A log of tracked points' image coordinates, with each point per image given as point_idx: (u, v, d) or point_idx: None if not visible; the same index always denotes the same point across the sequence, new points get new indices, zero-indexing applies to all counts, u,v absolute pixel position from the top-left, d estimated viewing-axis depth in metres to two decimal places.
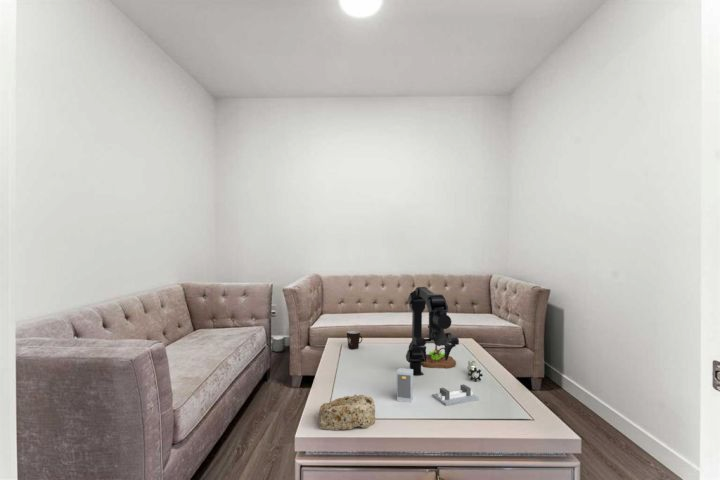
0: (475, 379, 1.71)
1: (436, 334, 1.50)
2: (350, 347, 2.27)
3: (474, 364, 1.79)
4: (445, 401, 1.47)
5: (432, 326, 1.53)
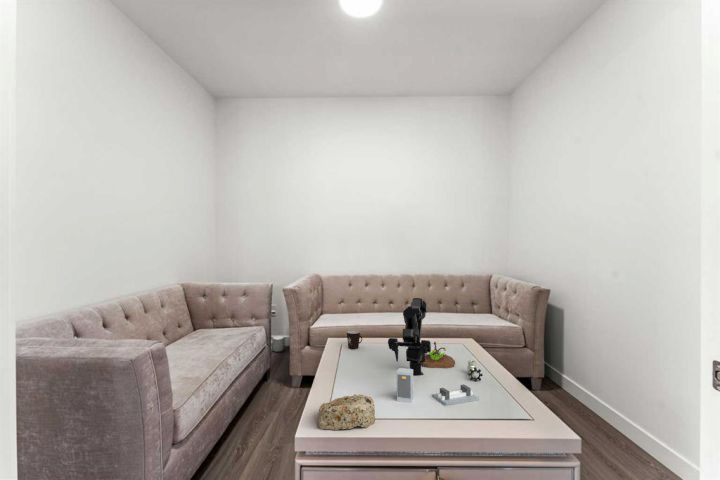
0: (475, 379, 1.71)
1: None
2: (350, 347, 2.27)
3: (474, 364, 1.80)
4: (445, 401, 1.47)
5: None
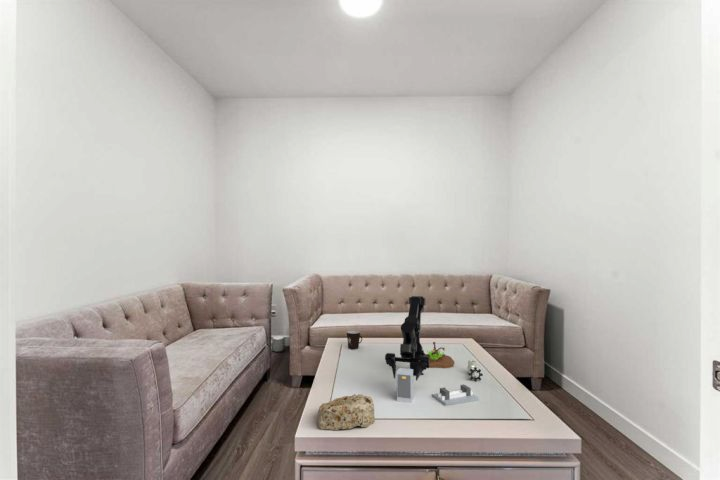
0: (475, 379, 1.72)
1: None
2: (350, 347, 2.27)
3: (474, 364, 1.80)
4: (445, 401, 1.47)
5: (403, 344, 1.61)
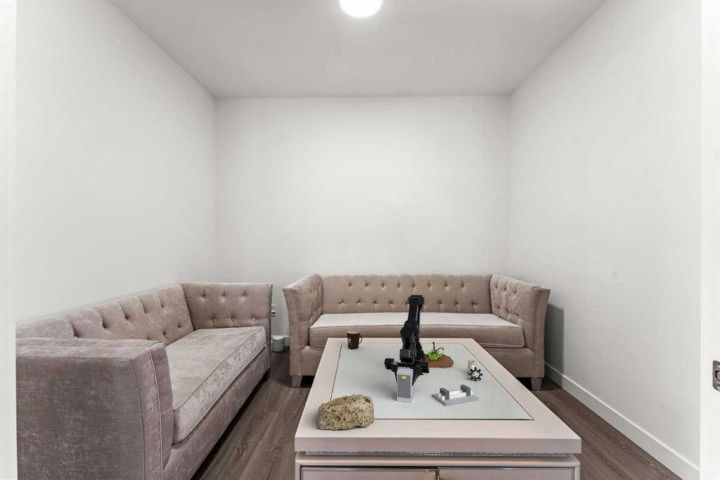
0: (475, 378, 1.72)
1: None
2: (350, 347, 2.27)
3: (474, 364, 1.80)
4: (445, 401, 1.47)
5: (403, 348, 1.59)
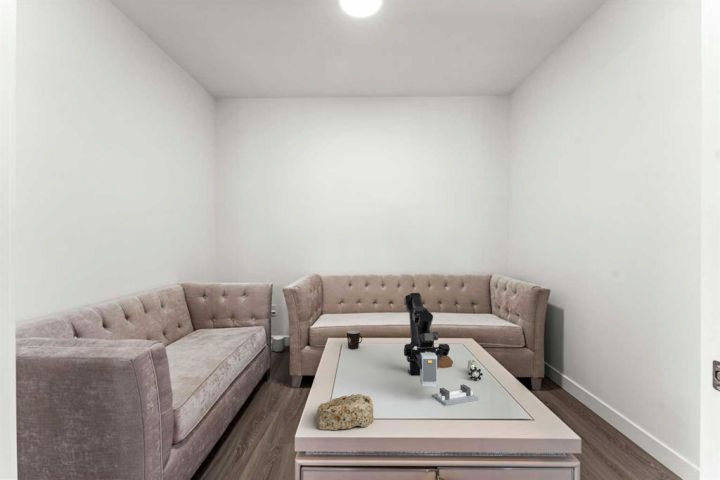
0: (475, 378, 1.72)
1: None
2: (350, 347, 2.27)
3: (474, 363, 1.81)
4: (445, 401, 1.47)
5: (420, 333, 1.58)
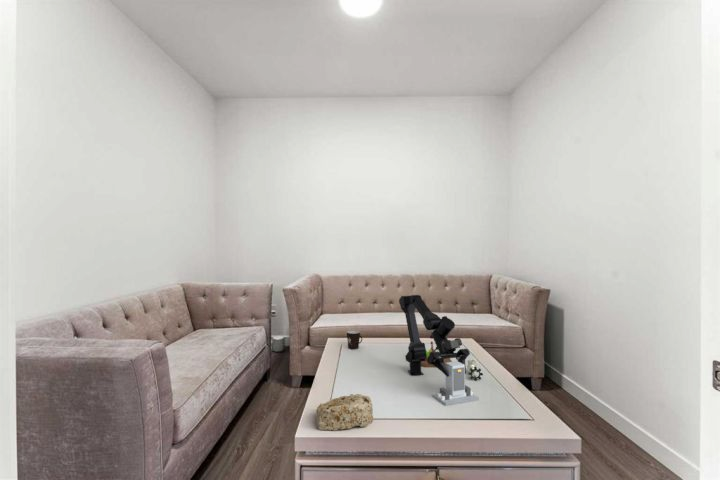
0: (475, 378, 1.73)
1: (446, 342, 1.56)
2: (350, 347, 2.27)
3: (474, 363, 1.81)
4: (445, 401, 1.47)
5: (439, 341, 1.59)
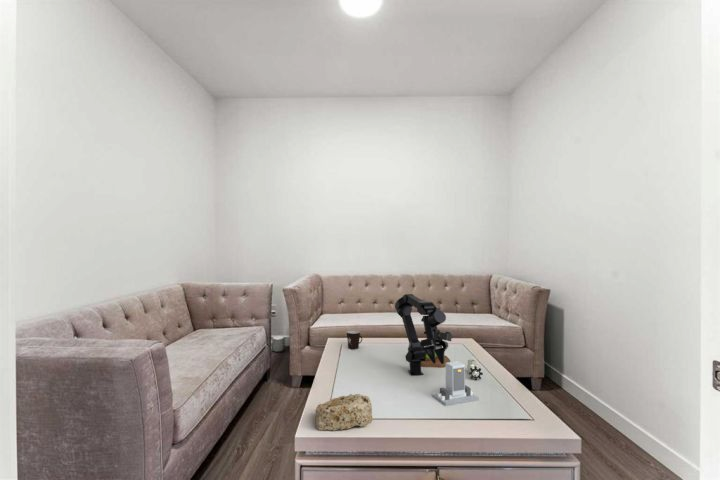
0: (475, 378, 1.73)
1: None
2: (350, 347, 2.27)
3: (474, 363, 1.81)
4: (445, 401, 1.47)
5: (433, 328, 1.66)
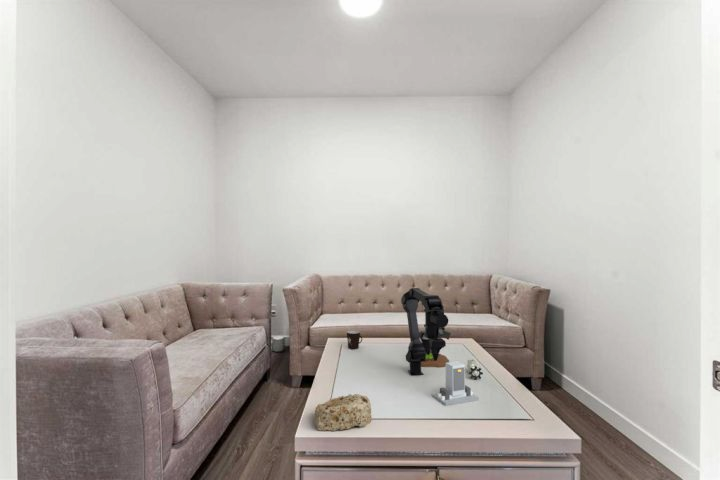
0: (475, 377, 1.74)
1: (443, 330, 1.65)
2: (350, 347, 2.27)
3: (473, 362, 1.82)
4: (445, 401, 1.47)
5: (437, 325, 1.64)
